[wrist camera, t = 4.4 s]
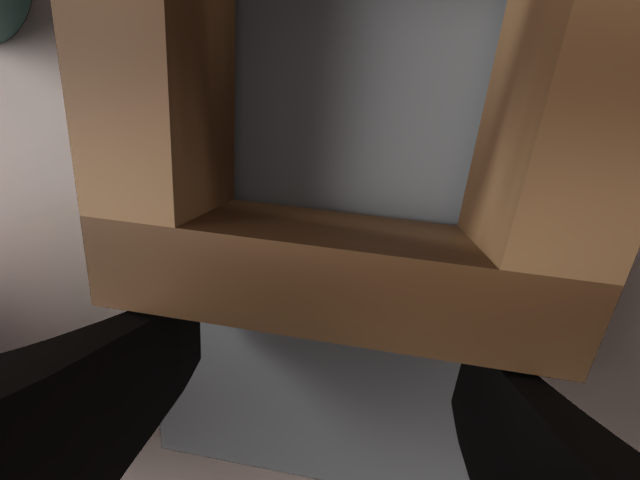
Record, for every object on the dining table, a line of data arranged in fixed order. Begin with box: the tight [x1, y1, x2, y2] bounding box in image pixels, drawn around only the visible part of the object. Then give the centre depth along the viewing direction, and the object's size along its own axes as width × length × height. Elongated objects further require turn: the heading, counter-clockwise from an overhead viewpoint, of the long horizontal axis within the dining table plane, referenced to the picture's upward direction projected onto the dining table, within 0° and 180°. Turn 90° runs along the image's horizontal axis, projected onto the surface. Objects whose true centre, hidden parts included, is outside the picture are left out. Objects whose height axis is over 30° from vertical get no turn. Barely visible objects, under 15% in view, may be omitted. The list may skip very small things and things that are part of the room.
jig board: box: [160, 0, 507, 480], centre depth 8 cm, size 20×12×4 cm, turn 175°
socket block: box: [50, 0, 640, 383], centre depth 7 cm, size 10×10×3 cm
